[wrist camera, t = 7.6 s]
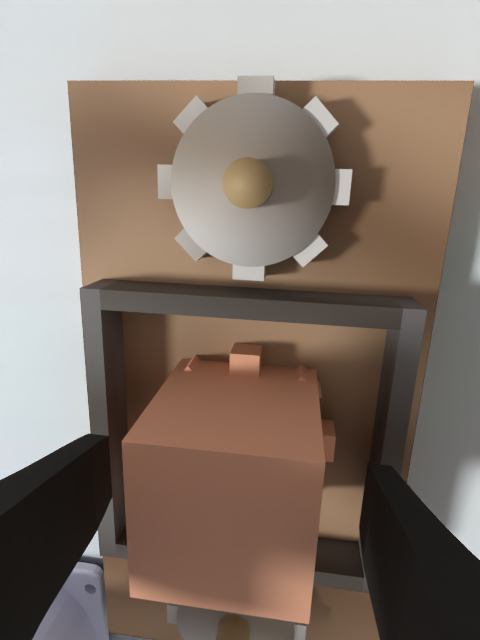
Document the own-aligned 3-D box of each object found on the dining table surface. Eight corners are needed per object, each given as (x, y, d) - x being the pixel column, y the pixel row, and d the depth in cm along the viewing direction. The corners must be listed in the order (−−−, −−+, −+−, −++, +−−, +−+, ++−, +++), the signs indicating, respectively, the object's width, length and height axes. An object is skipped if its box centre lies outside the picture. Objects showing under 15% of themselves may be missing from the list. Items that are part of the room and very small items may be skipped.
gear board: (369, 645, 18) (383, 737, 15) (119, 606, 19) (85, 683, 16) (457, 92, 12) (511, 55, 9) (87, 90, 13) (24, 58, 10)
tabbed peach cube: (324, 505, 15) (336, 650, 10) (164, 486, 16) (104, 614, 11) (340, 350, 13) (364, 436, 8) (160, 337, 14) (88, 410, 9)
